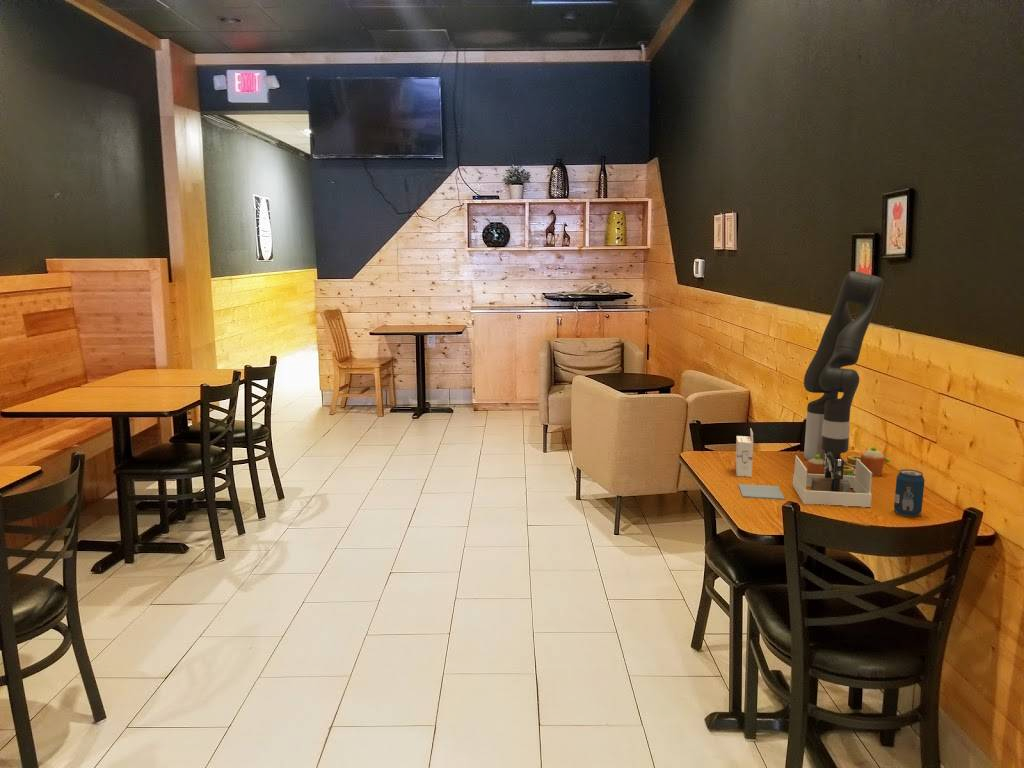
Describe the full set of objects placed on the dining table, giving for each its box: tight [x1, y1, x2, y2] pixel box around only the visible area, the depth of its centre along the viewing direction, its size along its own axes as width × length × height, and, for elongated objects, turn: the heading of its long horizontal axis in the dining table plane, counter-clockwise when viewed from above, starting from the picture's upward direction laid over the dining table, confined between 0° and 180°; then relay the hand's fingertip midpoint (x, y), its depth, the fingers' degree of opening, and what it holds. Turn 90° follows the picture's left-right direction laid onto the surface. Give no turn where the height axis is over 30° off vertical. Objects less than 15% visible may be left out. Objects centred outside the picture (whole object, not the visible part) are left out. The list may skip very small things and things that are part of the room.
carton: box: [792, 454, 873, 509], centre depth 226 cm, size 18×18×10 cm
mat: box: [737, 483, 786, 500], centre depth 230 cm, size 12×12×1 cm
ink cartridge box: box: [734, 427, 754, 478], centre depth 249 cm, size 9×5×15 cm, turn 168°
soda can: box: [893, 468, 926, 517], centre depth 211 cm, size 7×7×12 cm
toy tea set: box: [806, 446, 891, 477], centre depth 249 cm, size 26×16×10 cm, turn 113°
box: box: [810, 477, 851, 493], centre depth 226 cm, size 5×10×5 cm, turn 79°
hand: (831, 487), depth 226 cm, fingers open, 8 cm apart
